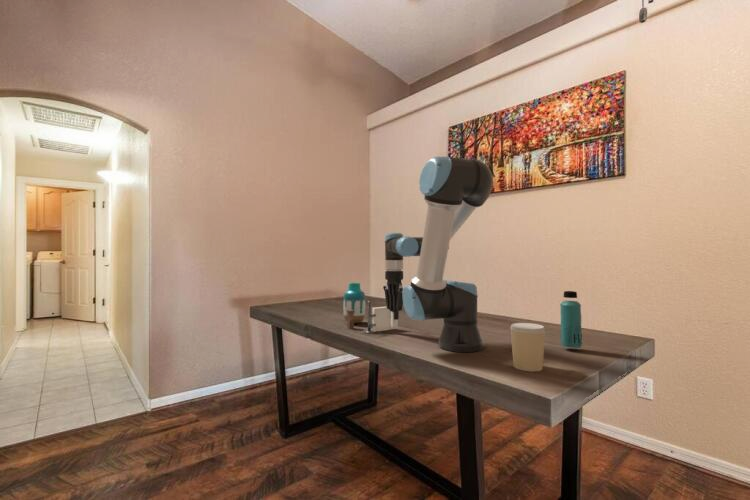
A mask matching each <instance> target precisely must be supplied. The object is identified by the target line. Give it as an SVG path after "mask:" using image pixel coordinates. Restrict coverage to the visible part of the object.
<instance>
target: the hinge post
mask: <svg viewBox="0 0 750 500" xmlns="http://www.w3.org/2000/svg"><path fill="white" fill-rule="evenodd" d="M366 304H367V305H366V306H367V330H365V331H364V333H365V334H374V332H375V330H372V328H371V327H372V326H371V321H372V320H371V318H372V317H371V314H372V313H371V312H372V307H371V306H372V301H371V300H367V302H366Z"/></svg>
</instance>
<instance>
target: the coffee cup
mask: <svg viewBox="0 0 750 500" xmlns="http://www.w3.org/2000/svg"><path fill="white" fill-rule="evenodd" d="M509 328H510V336H511V337H510V338H511V339H510V340H511V350H512V362H513V367H514V368H515V369H517V370H521V371H524V372H525V371H526V372H541V371H542V370H543V367H544V366H543V365H544V356H545V355H544V354H545V353H544V352H545V351H544V350H545V337H546V334H545V333H546V328H545V326H543V325H542V324H538V323H532V322H516V323H512V324H511V326H510V327H509Z"/></svg>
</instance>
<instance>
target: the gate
mask: <svg viewBox="0 0 750 500" xmlns="http://www.w3.org/2000/svg"><path fill="white" fill-rule="evenodd" d="M371 312H372V313H371V318H372V320H371V321H372V323H371V327H372V328H371V331H377V330H379V331H380V330H384V329H393V328H392V327H391V318H390V310H389V309H387V306H379V307H378V306H377V307H371Z"/></svg>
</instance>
